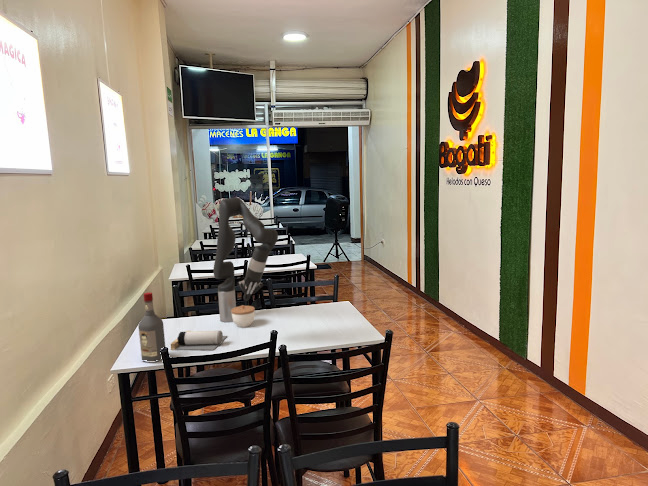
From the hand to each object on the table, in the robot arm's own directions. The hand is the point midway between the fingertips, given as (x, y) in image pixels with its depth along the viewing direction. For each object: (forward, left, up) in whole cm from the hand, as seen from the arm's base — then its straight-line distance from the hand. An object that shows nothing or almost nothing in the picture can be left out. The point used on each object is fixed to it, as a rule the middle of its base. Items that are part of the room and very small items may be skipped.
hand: (245, 299), depth 212 cm
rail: (+3, -33, -21) cm, 39 cm away
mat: (+3, -22, -21) cm, 31 cm away
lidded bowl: (-24, -10, -21) cm, 33 cm away
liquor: (+22, -37, -21) cm, 48 cm away
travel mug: (+5, -12, -17) cm, 21 cm away
